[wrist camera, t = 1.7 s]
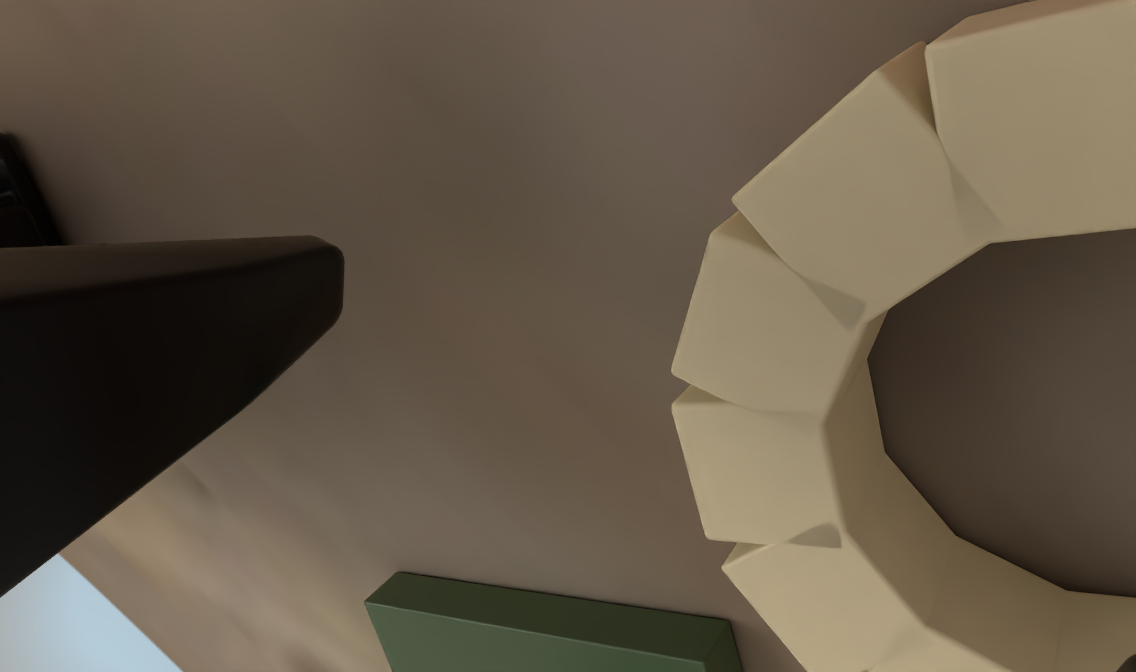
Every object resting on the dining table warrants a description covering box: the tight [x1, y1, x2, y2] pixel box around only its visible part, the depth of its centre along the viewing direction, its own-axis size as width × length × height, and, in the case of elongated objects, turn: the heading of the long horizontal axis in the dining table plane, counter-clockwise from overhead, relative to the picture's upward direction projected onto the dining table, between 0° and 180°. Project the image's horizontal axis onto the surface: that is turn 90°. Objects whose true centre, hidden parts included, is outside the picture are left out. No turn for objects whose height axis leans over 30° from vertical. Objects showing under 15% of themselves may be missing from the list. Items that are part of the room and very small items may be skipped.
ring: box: [671, 0, 1136, 672], centre depth 11 cm, size 10×10×2 cm
